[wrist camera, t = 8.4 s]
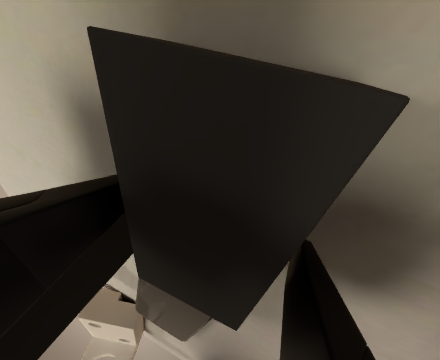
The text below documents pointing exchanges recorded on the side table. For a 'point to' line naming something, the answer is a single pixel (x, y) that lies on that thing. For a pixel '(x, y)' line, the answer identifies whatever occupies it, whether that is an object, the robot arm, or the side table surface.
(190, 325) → the smartphone
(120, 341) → the bracket
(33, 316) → the black pad block
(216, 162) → the base pad
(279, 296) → the side table surface
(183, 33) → the side table surface
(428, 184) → the side table surface
